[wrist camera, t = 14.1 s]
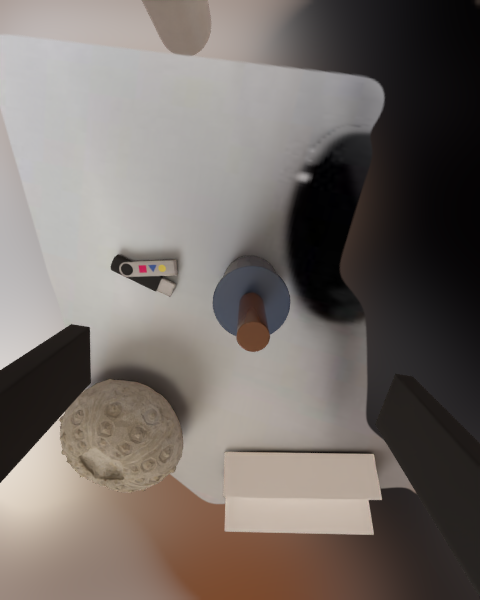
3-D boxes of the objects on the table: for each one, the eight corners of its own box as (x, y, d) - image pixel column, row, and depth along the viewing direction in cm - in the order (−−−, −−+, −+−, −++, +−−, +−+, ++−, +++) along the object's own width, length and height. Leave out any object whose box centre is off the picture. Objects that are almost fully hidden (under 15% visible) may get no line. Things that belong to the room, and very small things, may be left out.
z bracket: (227, 449, 51) (224, 452, 46) (359, 451, 51) (373, 454, 45) (224, 530, 46) (221, 544, 40) (372, 533, 45) (390, 548, 40)
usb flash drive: (112, 268, 37) (109, 270, 36) (125, 233, 35) (122, 234, 34) (170, 296, 38) (168, 298, 37) (185, 263, 36) (184, 264, 35)
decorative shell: (203, 453, 45) (180, 520, 36) (112, 449, 49) (70, 509, 40) (174, 363, 38) (138, 418, 29) (73, 368, 43) (13, 417, 34)
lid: (219, 257, 28) (207, 277, 20) (296, 270, 29) (318, 295, 20) (209, 328, 31) (194, 374, 22) (280, 339, 31) (293, 389, 22)
